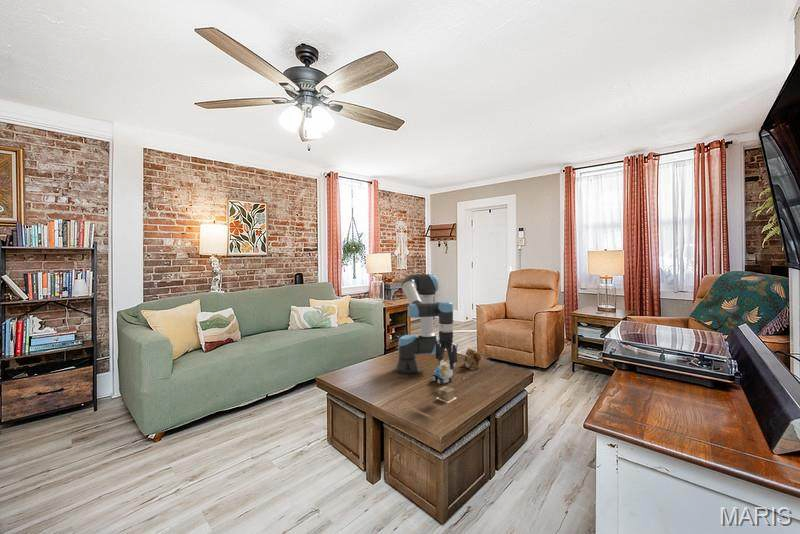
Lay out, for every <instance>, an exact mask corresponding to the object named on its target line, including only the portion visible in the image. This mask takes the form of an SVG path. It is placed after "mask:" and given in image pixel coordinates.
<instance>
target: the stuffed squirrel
mask: <svg viewBox="0 0 800 534" xmlns="http://www.w3.org/2000/svg"><path fill="white" fill-rule="evenodd" d="M481 360H483V355H482V353H481V352H477V351H476V350H474V349H472V348H469V347H468V348H467V350H466V352H465V353H464V357H463V360H462V361H463V362H464V363H462V364H460V368H467V369H469V370H470V371H475V370H476V369H477V367H478V366H479V364H480V361H481Z"/></svg>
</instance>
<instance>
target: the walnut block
mask: <svg viewBox="0 0 800 534" xmlns="http://www.w3.org/2000/svg"><path fill="white" fill-rule="evenodd" d="M438 397H439V399H442V400H445V401H447V402H448V401H450V400H452V399H453V398H454V397H455V388H453V387H450V386H447V385H444V386H442V387H440V388H438ZM439 399H438V400H439ZM442 400H441V401H442ZM452 401H453V400H452ZM447 402H446V403H447Z"/></svg>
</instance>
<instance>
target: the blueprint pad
mask: <svg viewBox="0 0 800 534" xmlns="http://www.w3.org/2000/svg"><path fill="white" fill-rule="evenodd" d="M456 399H457V397H455V396H454V398H453V399H452V400H450V401H448V402H447V401H445V400H442V399H439V396H438V397H436V400H439V401H442V402H443V403H444V402H445V403H447V404H449V403H450V402H452V401H454V400H456Z"/></svg>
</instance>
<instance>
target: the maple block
mask: <svg viewBox="0 0 800 534" xmlns="http://www.w3.org/2000/svg"><path fill="white" fill-rule="evenodd" d="M440 376H443V377H446V378H448V377H450V376H448V363H447V362H445V361H444V363H442V364H440ZM452 376H453V375H451V377H452Z"/></svg>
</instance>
